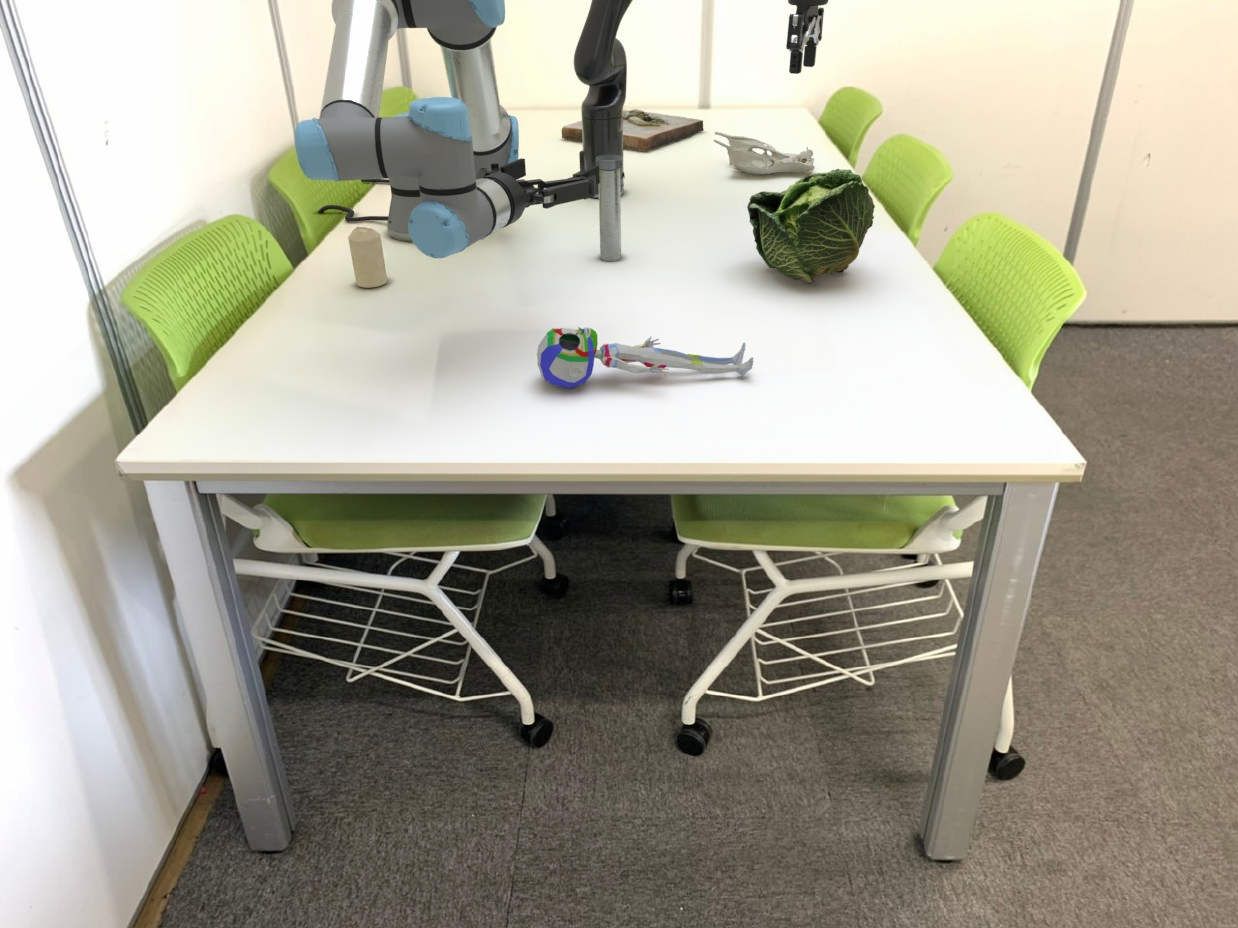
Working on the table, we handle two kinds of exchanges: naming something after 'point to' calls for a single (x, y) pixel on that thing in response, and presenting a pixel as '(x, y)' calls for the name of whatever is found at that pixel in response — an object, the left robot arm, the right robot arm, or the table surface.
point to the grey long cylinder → (610, 215)
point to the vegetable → (812, 224)
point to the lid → (609, 161)
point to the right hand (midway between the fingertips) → (802, 70)
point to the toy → (618, 358)
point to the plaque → (645, 129)
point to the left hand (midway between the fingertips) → (559, 170)
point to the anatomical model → (764, 157)
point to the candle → (367, 257)
